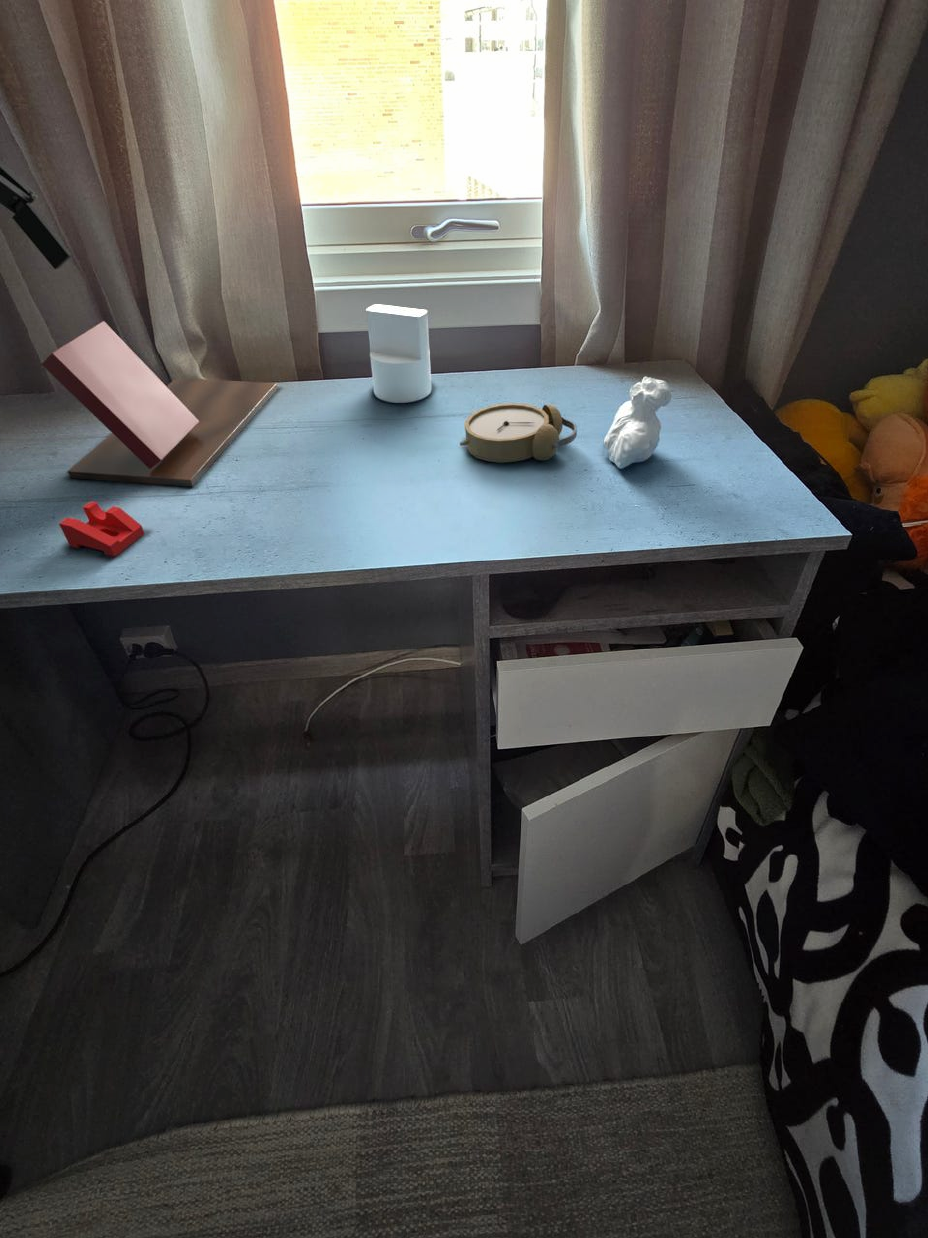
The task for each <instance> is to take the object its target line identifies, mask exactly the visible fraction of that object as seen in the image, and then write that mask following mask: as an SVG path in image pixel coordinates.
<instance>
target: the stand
mask: <svg viewBox="0 0 928 1238" xmlns="http://www.w3.org/2000/svg"><path fill="white" fill-rule="evenodd" d="M175 379H176V380H175ZM187 379H188V380H187ZM195 379H196V380H195ZM199 379H200V380H199ZM165 386H166V387H167V388H168V389H169V390H170V391H171V392H172V393H173V394H174V395H175V396H176V397H177V398H178V399H179V400H180V401H181V402H182V404H183V405H184V406H185V407H186V408H187V409H188V410H189V411H190V412H191V413H192V414H193V415H194V416H195V417H196V418H197V419H198V420H199V423H198V424H197V425H196V426H195V427H194V428H193V429H192V430H191V431H190V432H189V433H188V434H187V435H186V436H185V437H184V438H183V439H182V440H181V441H180V442H179V443H178V444H177V445H176V446H175V447H174V448H173V449H172V450H171V451H170V452H169V453H168V454H167V455H166V456H165V457H164V458H163V459H162V460H161V461H160V462H158V463H157V464H156V465H155V466H153V467H152V468H151V469H149V468H148V467H147V466H146V465H145V464H144V463H143V462H142V461H141V460H140V459H139V458H138V457H137V456H136V455H135V454H134V453H133V452H132V451H131V450H130V449H128V448H127V447H126V446H125V445H124V444H123V443H122V442H121V441H120V440H119V439H118V438H117V437H116V436H115V435H114V434H113V433H112V432H110V434H109V435H108V436H106V437H105V438H104V439H103V440H102V441H100V442H99V443H98V444H97V445H96V446H95V447H94V448H92V449H91V450H90V451H89V452H88V453H87V454H86V455H84V456H83V457H82V458H81V459H79V461H77V462H76V463H75V464H74V465H73V466H71V468H69V469H68V470H67V474H68V477H69V478H70V479H78V480H79V479H80V480H81V479H82V480H94V481H106V482H121V483H122V482H123V483H137V484H147V485H148V484H150V485H163V486H178V487H191V488H193V487H195V485H196V484H197V482H198V481H199V480H200V479H201V478H202V477H203V476H204V475H205V474H206V472H208V470H209V469H210V468H211V466H212V465H213V464H215V462H216V461H217V460H218V459H219V457H220V456H221V455H222V454H223V453H224V452H225V450H227V448H228V447H229V446H230V445H231V444H232V442H233V441H234V440H235V439H236V438H237V437H238V436H239V434H240V433H241V432H242V431H243V430H244V429H245V428H246V426H248V424H249V423H250V422H251V420H252V419H253V418H254V417H255V416H256V415H257V414H258V412H259V411H260V410H261V409H262V408H263V407H264V405H266V403H267V402H268V401H269V400H270V399H271V397H273V395H274V394H275V393H276V392H277V390H278V384H277V382H264V381H243V380H242V381H241V380H223V379H205V378H203V379H202V378H185V379H184V378H183V377H175V378H174V379H173V380H172V381H170V383H168V385H165Z"/></svg>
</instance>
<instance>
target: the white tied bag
mask: <svg viewBox="0 0 928 1238" xmlns="http://www.w3.org/2000/svg"><path fill="white" fill-rule="evenodd" d="M671 399H672V392H671V388H670V386H669V384H668V382H666V381H665V380H662V379H656V378H653V377H652V376H650V377H648V376H643V378H642V380H641V382H640V381H638V382H636V384H634V385H631V387H630V389H629V400H627V401H626V402H624V403H623V404H622V405H621V406H620V407H619V408H618V410H617V412H616V413H615V416H614V418H613V422H612V424H611V426H610V427H609V429H608V432H607V433H606V436H605V437H604V439H603V444H604V449H605V451H606V454H607V455H608V457H609V461H610V462H611V463H614V464H615V466H616V467H617V468H618V469H621V470H622V469H624V468H627V467H628V466H630V465H631V464H634V463H641V462H645V461H647V460H649V458H650V457H651V456H652V455H653V453H654V451H655V450H656V449H657V447H658V445H659V442H660V434H661V429H662V424H661V421H660V419H659V418H658V416H657V413H656V412H657V411H658V410H659V409H661V407H666V406H667V405H669V404H670V402H671V401H672V400H671Z"/></svg>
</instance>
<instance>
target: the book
mask: <svg viewBox="0 0 928 1238" xmlns="http://www.w3.org/2000/svg"><path fill="white" fill-rule="evenodd" d="M41 366H42V367H43V368H44V369H45V370H47V372H48V373H49V374H50V375H51V376H52V377H53V378H55V379H56V380H57V381H58V382H59V383H60V384H61V386H63V387H64V388H65V389H66V390H67V391H68V392H69V393H70V394H71V395H72V396H73V397H74V398H75V399H76V400H77V401H78V402H79V403H80V404H82V405H83V406H84V408H86V410H88V411H89V412H90V413H91V414H92V415H93V416H94V417H95V418H96V419H97V420H98V421H99V422H100V423H102V425H103V426H104V427H105V428H106V429H108V430H109V431H110V433H113V434H114V435H115V436H116V437H117V438H118V439H119V440H120V441H121V442H122V443H123V444H124V445H125V446H126V447H127V448H128V449H130V450H131V451H132V452H133V453H134V454H135V455H136V456H137V457H138V458H139V459H140V460H141V461H142V462H143V463H144V464H145V465H146V466H147V467H148V468H149V469H151V468H152V467H153V466H155V465H156V464H157V463H158V462H160V461H161V460H162V459H163V458H164V457H165V456H166V455H167V454H168V453H169V452H170V451H171V450H172V449H173V448H174V447H175V446H176V445H177V444H178V443H179V442H180V441H181V440H182V439H183V438H184V437H185V436H186V435H187V434H188V433H189V432H190V431H191V430H192V429H193V428H194V427H195V426H196V425H197V424H198V423H199V420H198V419H197V418H196V417H195V416H194V415H193V414H192V413H191V412H190V411H189V410H188V409H187V408H186V407H185V406H184V405H183V404H182V402H181V401H180V400H179V399H178V398H177V397H176V396H175V395H174V394H173V393H172V392H171V391H170V390H169V389H168V388H167V387H166V386H167V385H166V384H165V383H164V382H163V381H162V380H161V379H160V378H159V377H158V376H157V375H156V373H154V372H153V371H152V369H150V368H149V367H148V366H147V364H146V363H145V362H144V361H143V360H142V359H141V358H140V357H139V356H138V355H137V354H136V353H135V352H134V351H133V350H132V349H131V347H130V346H128V345H127V344H126V343H125V341H124V340H123V339H122V338H121V337H120V336H119V335H118V334H117V333H116V331H114V330H113V329H112V328H111V327H110V326H109V324H108V323H107V322H105V321H104V320H102V321H101V322H99V323H97V324H96V325H94V326H93V327H91V328H90V329H87V330H86V331H85V332H83V333H82V334H80V335H78V336H76V337H75V338H74V339H72V340H70V341H69V342H67V343H65V344H64V345H62V346H60V347H59V348H58V349H56V350H54V351H53V352H51V353H50V354H49V356H47V357H46V359H45V360H44V361H43V362H42V363H41Z"/></svg>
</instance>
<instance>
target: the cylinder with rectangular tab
mask: <svg viewBox="0 0 928 1238" xmlns="http://www.w3.org/2000/svg"><path fill="white" fill-rule="evenodd" d="M365 313H366V322H367V332H368V340H369V341H368V342H369V351H370V352H369V357H370V359H369V360H370V367H371V376H372V377H371V378H372V386H373V393H374V396H375V397H376V398H378V399H379V400H380V401H384V402H388V403H394V404H405V403H406V404H407V403H413V402H417V401H420V400H423V399H425V398H427V397H428V396H429V395H430V394H431V393H432V372H431V371H432V370H431V369H432V368H431V352H430V351H431V350H430V335H429V334H430V333H429V317H428V309H419V308H411V307H402V306H397V305H396V306H394V305H387V304H377V303H374V304H372V305H371V306H369V307H367V308H366V310H365Z"/></svg>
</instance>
